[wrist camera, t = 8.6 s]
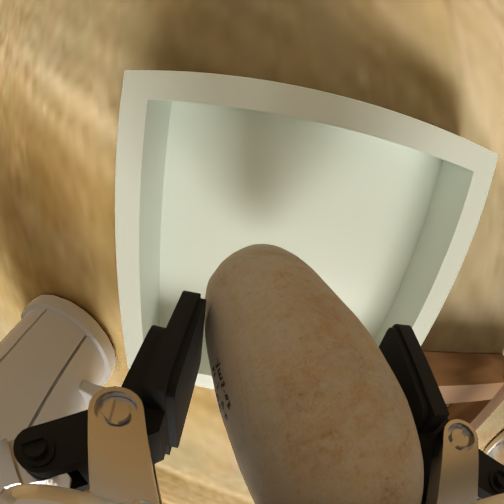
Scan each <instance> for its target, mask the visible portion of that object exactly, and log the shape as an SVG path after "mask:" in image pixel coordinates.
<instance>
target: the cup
mask: <svg viewBox="0 0 504 504" xmlns="http://www.w3.org/2000/svg"><path fill="white" fill-rule="evenodd" d="M115 365H116V358H115V351H114V349H113V347H112V345H111V342H110V340H109V338H108V336H107V335H106V333H105V332H104V331H103V329H102V328H101V327H100V325H99V324H98V323H97V321H96V320H94V319H93V318H92V317H91V316H90V315H89V314H88V313H87V312H86V311H85V310H83V309H82V308H80V307H79V306H77V305H75V304H74V303H72V302H71V301H69V300H66V299H63V298H60V297H57V296H55V295H40V296H38V297H36V298H35V299H33V300H32V301H31V302H30V303H29V304H28V305H27V306H26V307H25V309H24V311H23V313H22V315H21V321H20V322H19V323H18V324H17V325H16V326H15V327H14V328H13V329H12V330H11V331H10V332H9V333H8V334H7V336H6V337H5V338H4V339H3V340H2V341H1V342H0V440H1V439H5V438H7V439H8V441H12V440H15V438H16V437H17V435H18V434H19V433H20V432H21V431H22V430H24V429H26V428H28V427H31V426H35V425H39V424H42V423H46V422H49V421H52V420H56V419H59V418H62V417H65V416H69V415H72V414H75V413H78V412H81V411H84V410H87V409H88V406H89V402H90V400H91V398H92V397H93V395H94V394H96V393H97V392H98V391H99V390H102V389H104V388H106V387H103V386H102V385H103V384H105V383H106V382H108V380H109V378H110V376H111V375H112V373H113V370H114V367H115Z"/></svg>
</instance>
